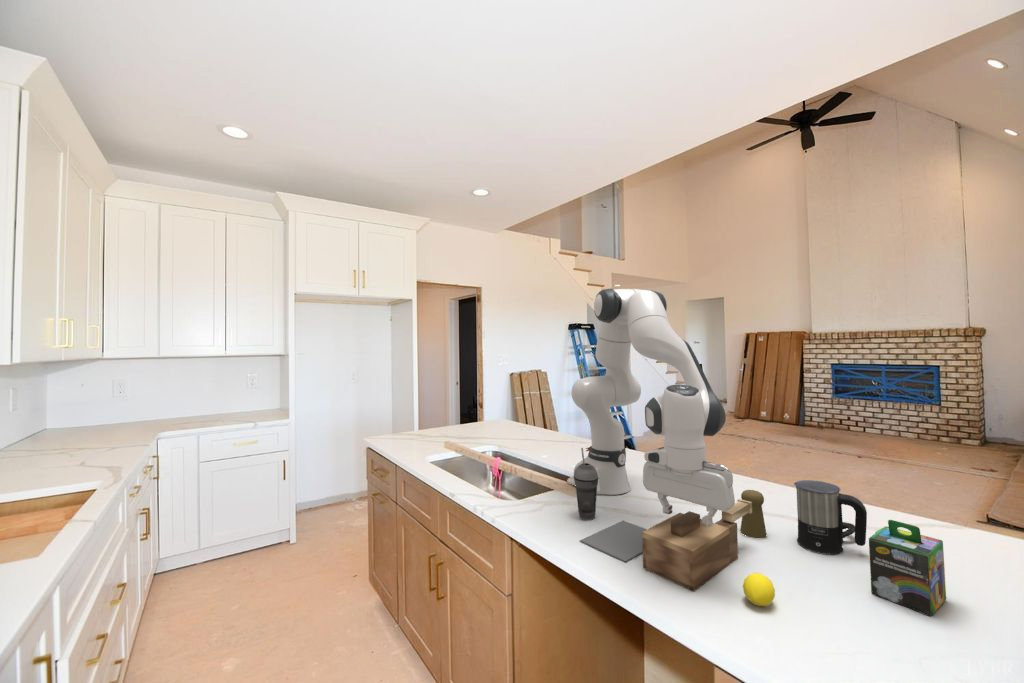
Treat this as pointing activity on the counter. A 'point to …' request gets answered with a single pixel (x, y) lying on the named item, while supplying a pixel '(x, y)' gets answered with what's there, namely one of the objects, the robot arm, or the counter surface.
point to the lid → (685, 533)
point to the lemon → (759, 589)
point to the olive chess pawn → (753, 515)
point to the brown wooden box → (692, 560)
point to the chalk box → (907, 567)
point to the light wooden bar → (737, 510)
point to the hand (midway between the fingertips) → (686, 519)
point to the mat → (618, 541)
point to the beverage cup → (586, 489)
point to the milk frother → (826, 517)
